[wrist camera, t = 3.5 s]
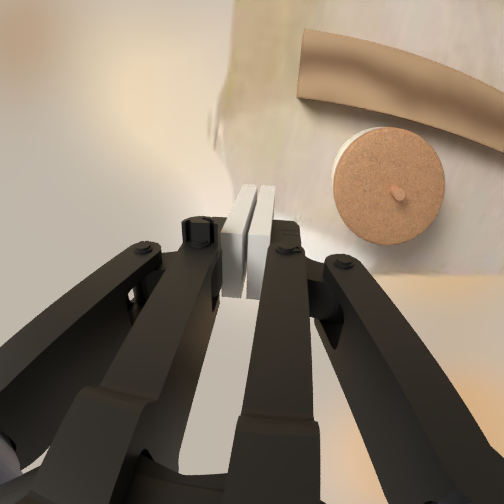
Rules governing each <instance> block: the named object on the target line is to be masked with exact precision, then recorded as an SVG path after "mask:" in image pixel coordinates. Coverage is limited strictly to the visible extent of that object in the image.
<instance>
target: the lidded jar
mask: <svg viewBox="0 0 504 504" xmlns="http://www.w3.org/2000/svg"><path fill="white" fill-rule="evenodd" d="M331 184H332V192H333V196H334V199H335V203H336V207H337V209H338V212H339V214H340V216H341V218H342V219H343V221H344V223H345V224H346V225H347V226H348V228H349V229H350V230H351V231H352V232H354V233H355V234H356V235H357V236H359V237H360V238H362V239H364V240H366V241H369V242H371V243H375V244H380V245H394V244H399V243H403V242H406V241H408V240H411V239H413V238H414V237H416V236H418V235H419V234H421V233H422V232H423V231H424V230H425V229H427V227H428V226H429V225H430V224H431V223H432V221H433V220H434V219H435V217H436V216H437V214H438V212H439V209H440V207H441V204H442V201H443V197H444V191H445V178H444V171H443V168H442V164H441V162H440V160H439V157H438V155H437V154H436V152H435V151H434V149H433V148H432V147H431V146H430V145H429V143H428V142H427V141H425V140H424V139H423V138H422V137H420V136H419V135H417V134H415V133H413V132H411V131H408V130H405V129H401V128H394V127H375V128H370V129H366V130H363V131H361V132H358V133H357V134H355V135H353V136H352V137H351V138H350V139H348V140H347V141H346V142H345V143H344V145H343V146H342V147H341V148H340V150H339V152H338V153H337V155H336V157H335V160H334V163H333V167H332V172H331Z"/></svg>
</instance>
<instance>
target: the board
mask: <svg viewBox="0 0 504 504" xmlns="http://www.w3.org/2000/svg"><path fill="white" fill-rule="evenodd" d="M297 98H303V99H310V100H317V101H323V102H329V103H335V104H341V105H346V106H351V107H356V108H361V109H366V110H370V111H375V112H379V113H383V114H387V115H391V116H395V117H399V118H403V119H407V120H410V121H414V122H417V123H421V124H424V125H428V126H431V127H434V128H437V129H440V130H443V131H446V132H449V133H452V134H455V135H458V136H461V137H464V138H466V139H469V140H472V141H474V142H477V143H480V144H482V145H485V146H487V147H490V148H492V149H494V150H497V151H499V152H501V153H504V93H503V92H501V91H499V90H497V89H496V88H494V87H492V86H490V85H488V84H486V83H484V82H482V81H480V80H477V79H475V78H473V77H471V76H469V75H467V74H464V73H462V72H460V71H457V70H455V69H453V68H450V67H448V66H445V65H443V64H440V63H437V62H435V61H432V60H429V59H427V58H424V57H421V56H418V55H415V54H412V53H409V52H406V51H403V50H399V49H396V48H392V47H389V46H385V45H382V44H378V43H374V42H370V41H366V40H362V39H357V38H353V37H348V36H343V35H338V34H333V33H327V32H321V31H314V30H307V29H304V32H303V36H302V47H301V58H300V68H299V78H298V88H297Z"/></svg>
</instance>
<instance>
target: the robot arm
mask: <svg viewBox="0 0 504 504" xmlns="http://www.w3.org/2000/svg"><path fill="white" fill-rule="evenodd" d="M274 202H275V186H266V185H261V189H260V192H259V196H258V200H257V185H249V184H243V186H242V189H241V191H240V193H239V195H238V197H237V199H236V201H235V203H234V205H233V207H232V209H231V211H230V213H229V215H228V218H225V217H224V218H223V217H212V218H211V217H206V216H196V217H191V218H187V219H185V220H183V221H182V236H183V243H182V245H181V247H180V248H179V250H178V251H176V252H167V253H162V252H161V246H160V245H159V244H158V243H155V242H149V241H145V242H144V241H141V242H139V243H136V244H133V245H131V246H130V247H128V248H127V249H125V250H124V251H123V252H121V253H120V254H118V255H117V256H115V257H114V258H113V259H111V260H110V261H108V262H107V263H106V264H104V265H103V266H102V267H100V268H99V269H97V270H96V271H95V272H93V273H92V274H91V275H89V276H88V277H87V278H85V279H84V280H83V281H81V282H80V283H79V284H77V285H76V286H75V287H73V288H72V289H71V290H70V291H68V292H67V293H65V294H64V295H63V296H62V297H60V298H59V299H58V300H57V301H55V302H54V303H53V304H51V305H50V306H49V307H48V308H46V309H45V310H44V311H43V312H42V313H40V314H39V315H38V316H37V317H35V318H34V319H33V320H32V321H31V322H29V323H28V324H27V325H26V326H24V327H23V328H22V329H21V330H20V331H19V332H17V333H16V334H15V335H14V336H13V337H12V338H10V339H9V340H8V341H7V342H6V343H5V344H4V345H2V346H1V347H0V504H326V503H324V502H323V501H321V500H320V430H319V425H318V422H316V421H314V417H313V385H312V384H313V383H312V355H311V334H310V317H313V318H314V323H315V326H316V329H317V331H318V333H319V336H320V338H321V340H322V343H323V345H324V347H325V349H326V352H327V354H328V356H329V359H330V361H331V364H332V366H333V368H334V371H335V373H336V375H337V378H338V380H339V382H340V385H341V387H342V390H343V392H344V394H345V397H346V399H347V401H348V404H349V406H350V409H351V411H352V413H353V416H354V419H355V421H356V423H357V426H358V428H359V430H360V433H361V436H362V438H363V441H364V443H365V446H366V448H367V451H368V453H369V456H370V458H371V461H372V464H373V466H374V469H375V471H376V474H377V476H378V479H379V482H380V484H381V487H382V489H383V492H384V495H385V497H386V499H387V501H388V503H389V504H504V458H503V457H502V456H501V455H500V454H499V453H498V452H497V451H495V450H494V449H493V448H492V447H491V446H490V444H489V443H488V441H487V439H486V437H485V436H484V434H483V432H482V431H481V429H480V427H479V426H478V424H477V423H476V421H475V419H474V417H473V416H472V414H471V413H470V411H469V409H468V408H467V406H466V405H465V403H464V402H463V400H462V398H461V397H460V395H459V394H458V392H457V391H456V389H455V388H454V386H453V385H452V383H451V382H450V381H449V379H448V377H447V376H446V374H445V373H444V371H443V370H442V369H441V367H440V366H439V364H438V363H437V361H436V360H435V358H434V357H433V356H432V354H431V353H430V351H429V350H428V349H427V347H426V346H425V345H424V343H423V342H422V340H421V339H420V338H419V336H418V335H417V333H416V332H415V331H414V329H413V328H412V327H411V325H410V324H409V323H408V322H407V320H406V319H405V317H404V316H403V315H402V314H401V312H400V311H399V310H398V308H397V307H396V306H395V304H394V303H393V302H392V301H391V299H390V298H389V297H388V295H387V294H386V293H385V292H384V290H383V289H382V288H381V287H380V285H379V284H378V283H377V282H376V280H375V279H374V278H373V277H372V275H371V274H370V273H369V272H368V271H367V269H366V268H365V267H364V266H363V265H362V263H361V262H360V261H359V260H357V259H356V258H354V257H351V256H350V255H346V254H334V255H330V256H328V257H326V259H325V262H324V263H320V262H317V261H313V260H311V259H309V258H307V257H306V256H305V251H304V249H303V248H302V247H301V238H300V229H299V225H298V224H297V223H296V222H294V221H284V220H273V218H274ZM246 273H247V297H246V298H247V299H257V300H260V302H259V309H258V315H257V321H256V327H255V333H254V340H253V346H252V352H251V358H250V364H249V370H248V377H247V382H246V388H245V394H244V400H243V406H242V411H241V415H240V416H239V418H238V421H237V425H236V430H235V436H234V441H233V447H232V452H231V458H230V463H229V468H228V473H225V474H210V475H182V474H179V473H178V471H179V467H178V458H179V452H180V448H181V443H182V440H183V436H184V432H185V429H186V425H187V421H188V417H189V413H190V410H191V406H192V402H193V398H194V395H195V391H196V387H197V384H198V380H199V376H200V372H201V369H202V365H203V361H204V358H205V354H206V351H207V347H208V343H209V340H210V336H211V332H212V329H213V325H214V322H215V318H216V315H217V311H218V307H219V304H220V301H219V292H220V289H221V287H222V296H223V297H233V298H241V296H242V291H243V287H244V282H245V277H246ZM132 288H133V292H134V298H133V299H132V300H131V301H130V300H129V297H128V293H129V292H130V290H131V289H132ZM49 446H50V447H49ZM48 447H49V450H48V451H47V454H46V456H45V458H44V460H43V462H42V464H41V466H39V467H37V468H35V469H33V470H31V471H29V472H26V473H24V474H23V473H22V472H21V470H22V469H24V468H26V467H27V466H29V465H30V464H31V463H33V462H34V461H35V460H36V459H37V458H39V457H40V456H41V455H42V454H43V453H44V452H45V451H46V450H47V449H48Z"/></svg>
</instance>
